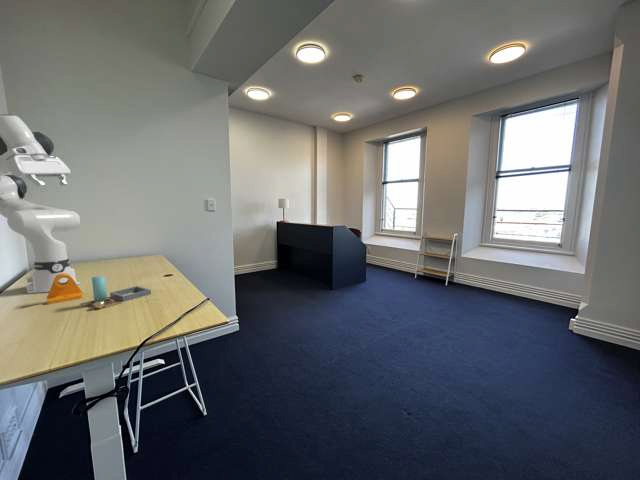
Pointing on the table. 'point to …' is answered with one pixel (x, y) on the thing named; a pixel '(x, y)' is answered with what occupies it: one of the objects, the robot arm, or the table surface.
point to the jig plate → (107, 304)
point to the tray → (120, 294)
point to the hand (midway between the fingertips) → (53, 185)
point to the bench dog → (99, 305)
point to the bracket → (63, 290)
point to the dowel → (99, 288)
